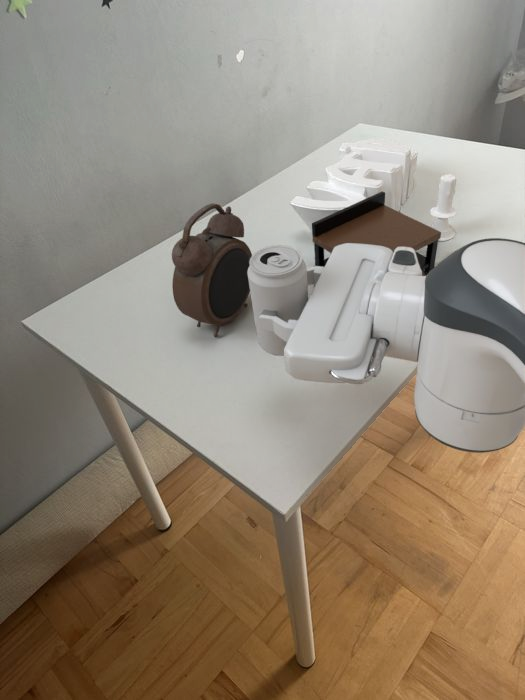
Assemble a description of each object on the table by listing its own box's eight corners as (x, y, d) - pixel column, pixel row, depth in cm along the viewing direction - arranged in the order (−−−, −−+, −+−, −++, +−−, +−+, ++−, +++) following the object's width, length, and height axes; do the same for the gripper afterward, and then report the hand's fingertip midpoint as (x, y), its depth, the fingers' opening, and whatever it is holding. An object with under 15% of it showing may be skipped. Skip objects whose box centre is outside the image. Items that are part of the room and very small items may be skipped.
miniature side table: (435, 272, 88) (443, 219, 81) (366, 310, 83) (368, 257, 76) (379, 241, 97) (382, 191, 90) (313, 274, 92) (311, 223, 85)
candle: (431, 224, 100) (439, 165, 92) (458, 230, 97) (469, 170, 89) (421, 237, 97) (428, 178, 89) (448, 244, 94) (459, 183, 86)
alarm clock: (217, 351, 80) (191, 241, 66) (182, 338, 83) (150, 230, 69) (266, 299, 88) (252, 192, 74) (232, 289, 91) (213, 184, 78)
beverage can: (282, 318, 65) (273, 236, 56) (321, 338, 61) (318, 253, 53) (247, 345, 62) (233, 263, 53) (287, 368, 58) (278, 283, 50)
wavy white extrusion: (359, 260, 93) (360, 208, 86) (284, 241, 101) (280, 191, 94) (429, 180, 113) (434, 132, 106) (361, 169, 121) (363, 124, 114)
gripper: (374, 409, 48) (241, 381, 53) (409, 284, 61) (301, 270, 66) (377, 362, 44) (232, 336, 48) (414, 238, 57) (298, 227, 62)
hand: (272, 297), depth 57 cm, fingers closed on beverage can, 6 cm apart
